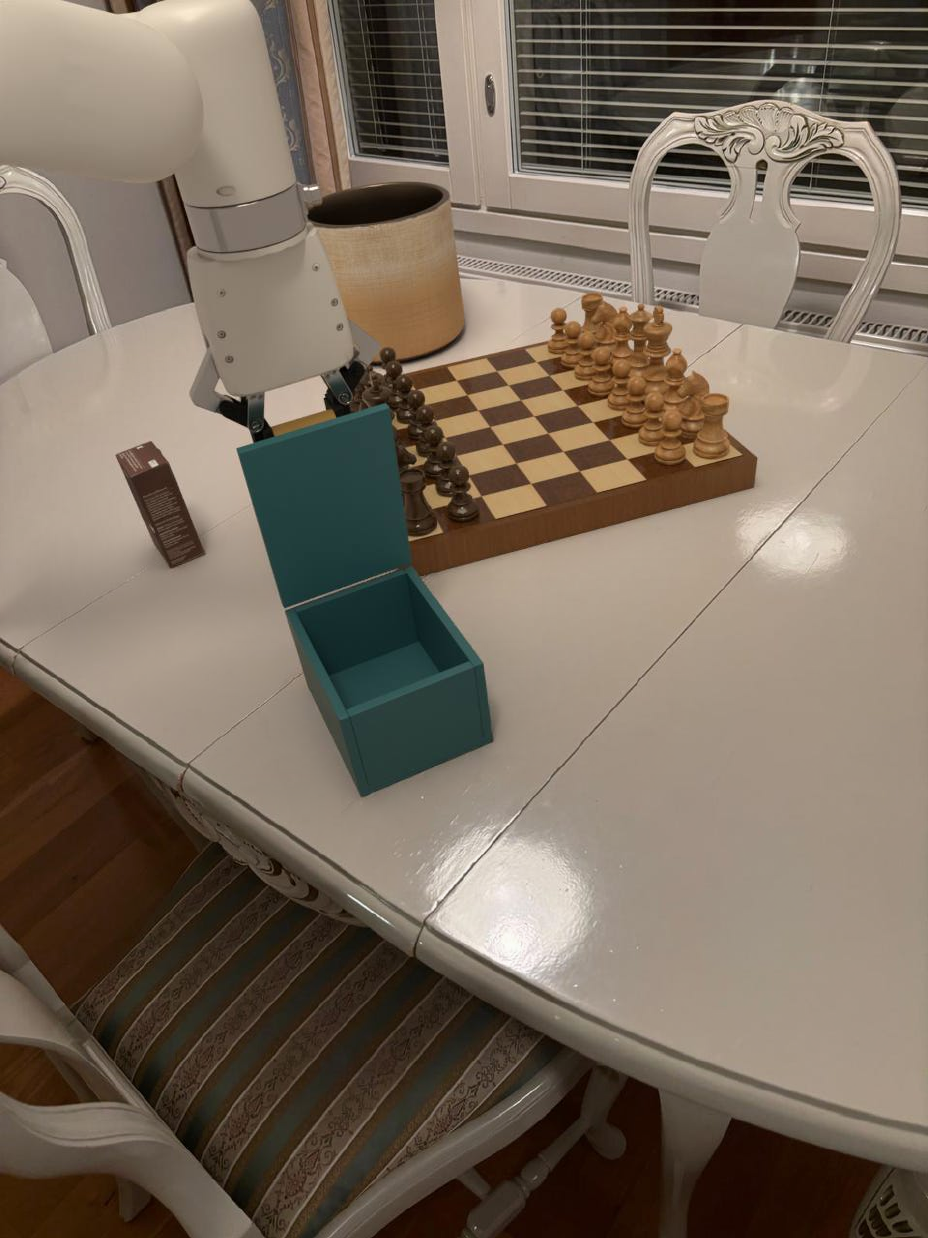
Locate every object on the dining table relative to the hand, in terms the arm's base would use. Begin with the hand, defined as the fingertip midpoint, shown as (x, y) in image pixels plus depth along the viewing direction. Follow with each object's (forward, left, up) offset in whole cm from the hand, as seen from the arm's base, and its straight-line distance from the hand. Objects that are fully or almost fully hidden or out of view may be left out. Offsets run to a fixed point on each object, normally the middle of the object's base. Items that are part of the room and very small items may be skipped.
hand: (309, 454), depth 71 cm
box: (-12, +25, -20) cm, 35 cm away
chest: (0, -11, -20) cm, 23 cm away
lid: (0, -4, -3) cm, 6 cm away
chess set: (+30, +23, -20) cm, 43 cm away
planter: (+30, +65, -20) cm, 75 cm away
